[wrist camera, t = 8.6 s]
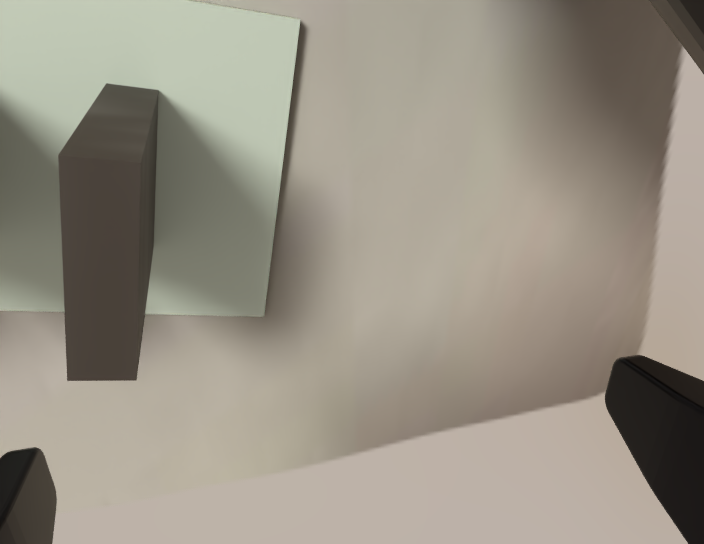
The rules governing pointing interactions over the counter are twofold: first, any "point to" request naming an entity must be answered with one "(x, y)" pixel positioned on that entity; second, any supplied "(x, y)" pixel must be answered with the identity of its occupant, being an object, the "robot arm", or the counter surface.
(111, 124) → the tile
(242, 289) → the runner mat
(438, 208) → the counter surface
